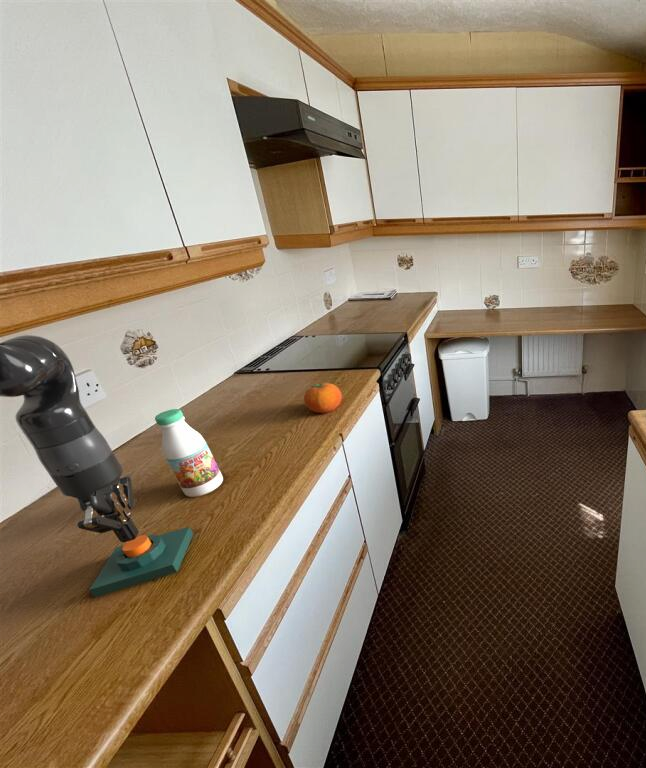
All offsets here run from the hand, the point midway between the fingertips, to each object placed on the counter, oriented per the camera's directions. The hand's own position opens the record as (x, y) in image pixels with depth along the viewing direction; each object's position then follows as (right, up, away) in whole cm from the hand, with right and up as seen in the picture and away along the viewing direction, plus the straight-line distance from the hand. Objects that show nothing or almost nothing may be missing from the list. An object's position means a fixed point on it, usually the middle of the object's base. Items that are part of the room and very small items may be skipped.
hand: (130, 538), depth 73 cm
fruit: (+11, +20, +54) cm, 58 cm away
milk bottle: (-4, +3, +23) cm, 23 cm away
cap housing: (+1, -6, +3) cm, 7 cm away
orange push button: (0, -3, +1) cm, 3 cm away
